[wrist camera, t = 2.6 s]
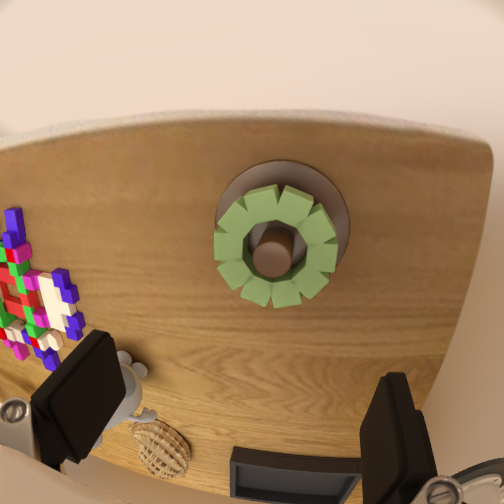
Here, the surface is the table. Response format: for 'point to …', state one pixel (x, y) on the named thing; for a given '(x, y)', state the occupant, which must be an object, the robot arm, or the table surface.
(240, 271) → the ring
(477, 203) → the table surface
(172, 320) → the table surface
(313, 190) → the stand
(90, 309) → the table surface
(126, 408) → the toy figure
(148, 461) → the seashell
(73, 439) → the robot arm
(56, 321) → the building block set
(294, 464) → the tray
